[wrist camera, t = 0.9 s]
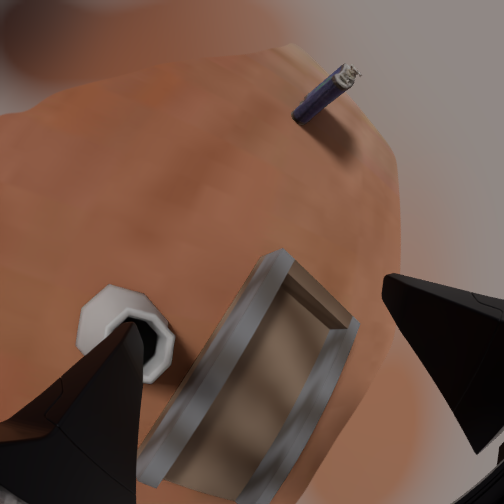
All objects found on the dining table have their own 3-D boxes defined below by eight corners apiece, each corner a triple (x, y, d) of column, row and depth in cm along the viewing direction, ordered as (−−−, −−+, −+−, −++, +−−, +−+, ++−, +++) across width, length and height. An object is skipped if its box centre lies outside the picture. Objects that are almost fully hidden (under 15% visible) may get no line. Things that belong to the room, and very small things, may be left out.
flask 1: (182, 317, 21) (242, 314, 13) (143, 396, 18) (179, 449, 10) (105, 268, 19) (110, 227, 11) (61, 348, 16) (29, 372, 7)
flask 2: (307, 92, 38) (354, 54, 29) (320, 105, 39) (368, 69, 30) (287, 115, 34) (342, 69, 25) (303, 130, 35) (360, 87, 26)
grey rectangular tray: (241, 499, 19) (260, 515, 16) (130, 460, 16) (137, 480, 13) (336, 325, 30) (360, 323, 27) (260, 256, 26) (282, 248, 23)
